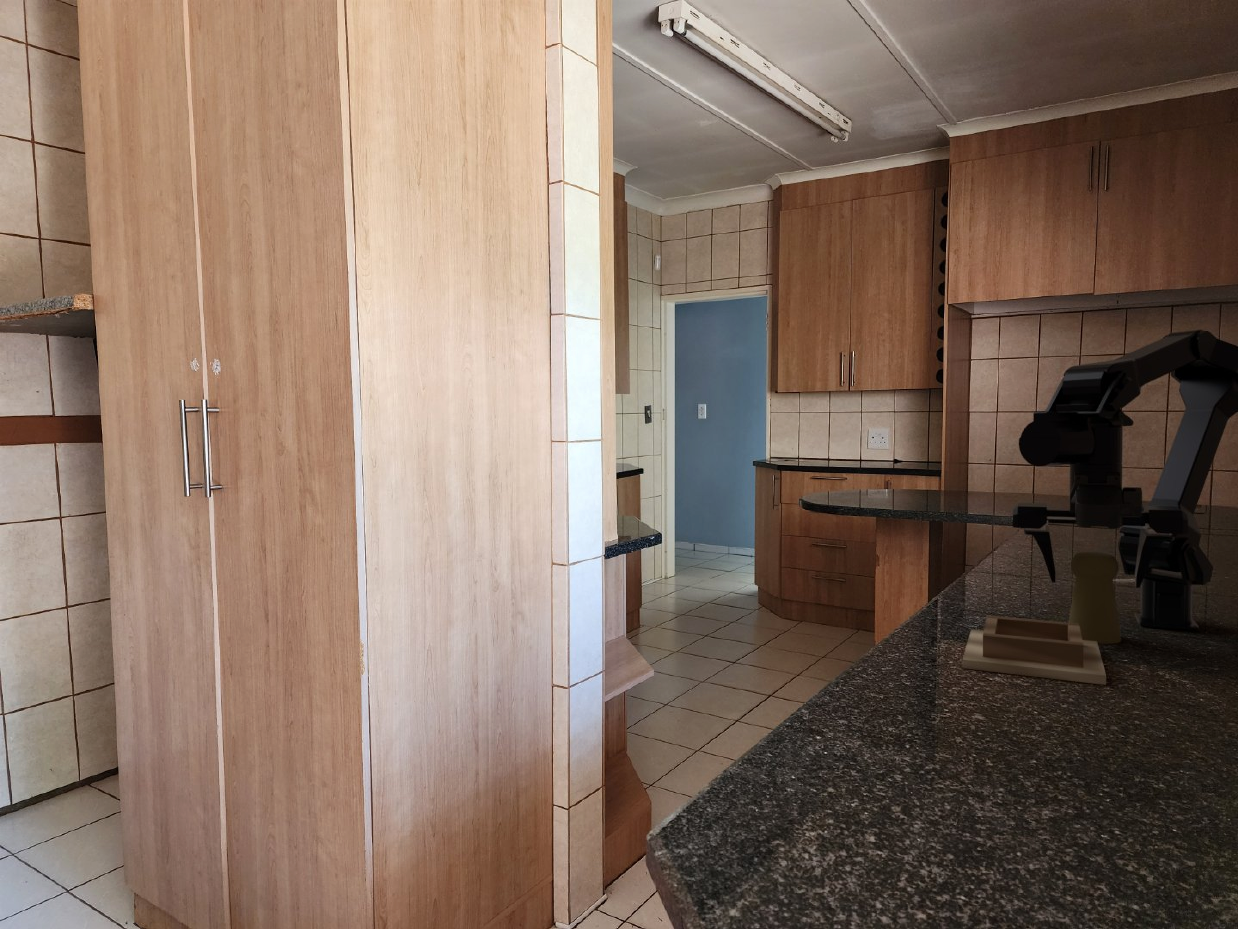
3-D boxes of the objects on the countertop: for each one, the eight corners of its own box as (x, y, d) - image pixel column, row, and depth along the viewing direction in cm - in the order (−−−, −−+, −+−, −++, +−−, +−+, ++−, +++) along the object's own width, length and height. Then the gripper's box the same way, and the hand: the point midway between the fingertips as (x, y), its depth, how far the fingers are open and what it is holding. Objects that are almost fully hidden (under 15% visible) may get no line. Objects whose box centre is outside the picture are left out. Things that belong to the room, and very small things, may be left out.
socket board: (971, 637, 102) (971, 610, 102) (1096, 649, 95) (1097, 621, 95) (962, 668, 90) (962, 638, 90) (1106, 685, 83) (1106, 652, 83)
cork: (1129, 644, 97) (1131, 556, 97) (1076, 643, 98) (1077, 556, 98) (1109, 631, 103) (1110, 548, 103) (1059, 630, 104) (1060, 548, 104)
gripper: (1011, 466, 97) (1011, 591, 98) (1197, 467, 88) (1195, 604, 89) (1014, 461, 107) (1013, 575, 108) (1181, 461, 98) (1179, 585, 99)
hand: (1094, 584), depth 100 cm, fingers open, 9 cm apart
